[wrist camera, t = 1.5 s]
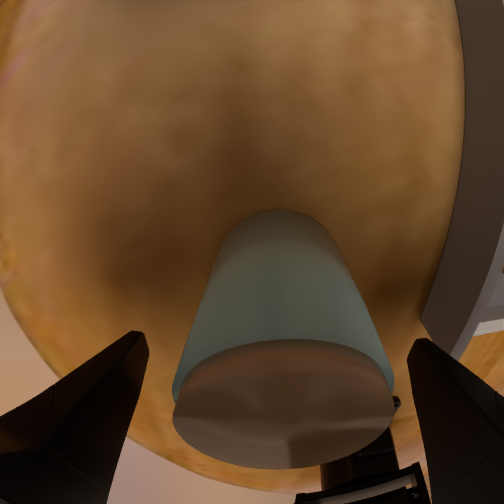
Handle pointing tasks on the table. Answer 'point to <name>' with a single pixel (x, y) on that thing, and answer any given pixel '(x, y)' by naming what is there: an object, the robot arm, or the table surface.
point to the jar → (282, 352)
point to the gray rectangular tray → (475, 194)
